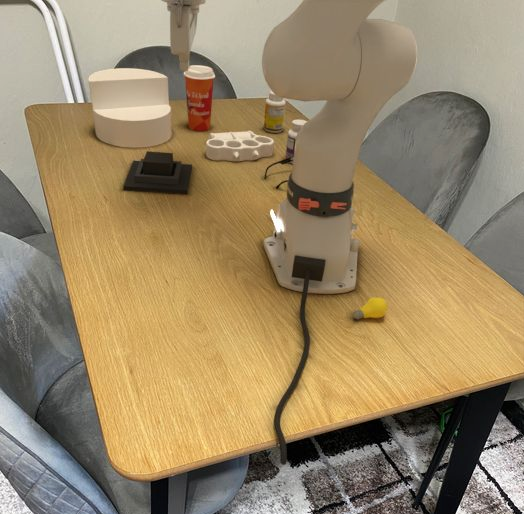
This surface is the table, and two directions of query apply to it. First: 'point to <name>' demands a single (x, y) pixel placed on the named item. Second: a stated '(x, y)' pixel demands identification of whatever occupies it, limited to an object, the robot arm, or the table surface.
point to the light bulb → (372, 309)
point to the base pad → (159, 179)
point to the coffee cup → (199, 96)
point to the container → (130, 107)
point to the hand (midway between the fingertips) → (184, 69)
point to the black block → (158, 163)
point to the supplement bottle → (274, 113)
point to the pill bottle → (293, 137)
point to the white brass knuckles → (238, 146)
